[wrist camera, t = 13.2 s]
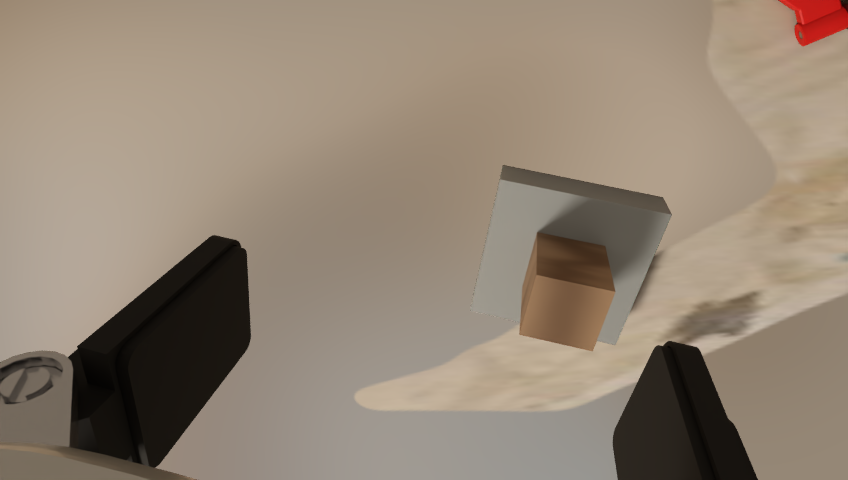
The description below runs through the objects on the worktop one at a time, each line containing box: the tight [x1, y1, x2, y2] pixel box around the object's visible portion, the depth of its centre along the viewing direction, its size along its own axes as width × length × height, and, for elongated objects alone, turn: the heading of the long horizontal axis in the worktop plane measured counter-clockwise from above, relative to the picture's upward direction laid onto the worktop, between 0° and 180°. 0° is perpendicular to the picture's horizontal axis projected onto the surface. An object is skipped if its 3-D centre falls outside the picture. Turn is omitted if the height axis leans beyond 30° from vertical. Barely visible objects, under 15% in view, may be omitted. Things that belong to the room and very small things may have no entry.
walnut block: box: [519, 232, 616, 351], centre depth 36 cm, size 5×5×6 cm
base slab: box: [470, 165, 672, 345], centre depth 40 cm, size 12×12×3 cm
